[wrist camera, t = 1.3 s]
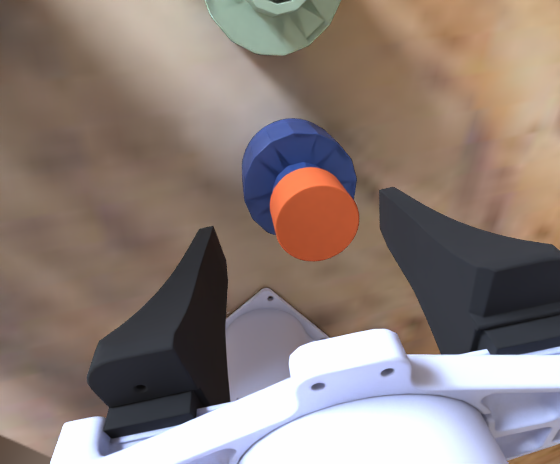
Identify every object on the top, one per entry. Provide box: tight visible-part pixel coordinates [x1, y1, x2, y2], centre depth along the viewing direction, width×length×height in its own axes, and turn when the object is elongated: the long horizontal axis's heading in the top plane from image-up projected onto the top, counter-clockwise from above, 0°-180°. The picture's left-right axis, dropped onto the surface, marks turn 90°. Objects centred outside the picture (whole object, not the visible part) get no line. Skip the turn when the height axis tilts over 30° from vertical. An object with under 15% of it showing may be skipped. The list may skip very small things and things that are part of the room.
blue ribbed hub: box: [242, 118, 357, 235], centre depth 23 cm, size 7×7×6 cm
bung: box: [270, 167, 359, 261], centre depth 20 cm, size 4×4×4 cm
